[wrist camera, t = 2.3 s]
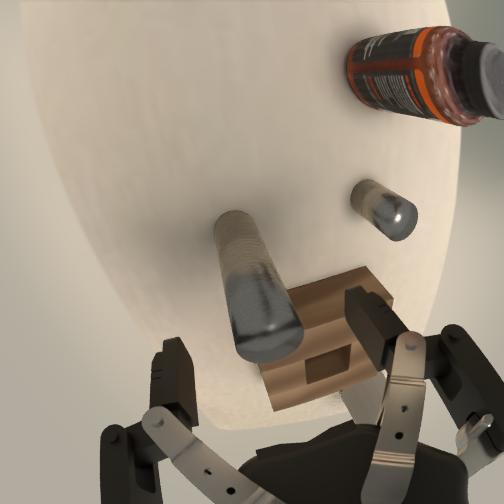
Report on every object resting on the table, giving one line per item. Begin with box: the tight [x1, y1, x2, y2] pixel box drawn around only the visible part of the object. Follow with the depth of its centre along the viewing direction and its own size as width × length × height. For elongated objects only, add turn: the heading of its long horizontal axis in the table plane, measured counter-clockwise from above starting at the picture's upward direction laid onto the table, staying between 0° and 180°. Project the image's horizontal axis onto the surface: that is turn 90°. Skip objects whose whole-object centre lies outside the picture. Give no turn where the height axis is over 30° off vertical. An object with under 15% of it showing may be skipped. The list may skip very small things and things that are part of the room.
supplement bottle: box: [347, 26, 504, 127], centre depth 12 cm, size 6×6×11 cm
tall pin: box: [214, 211, 304, 363], centre depth 16 cm, size 3×3×11 cm
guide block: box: [258, 266, 394, 412], centre depth 26 cm, size 12×12×5 cm
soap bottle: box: [341, 371, 386, 424], centre depth 29 cm, size 7×7×18 cm
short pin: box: [351, 179, 418, 241], centre depth 20 cm, size 3×3×5 cm
